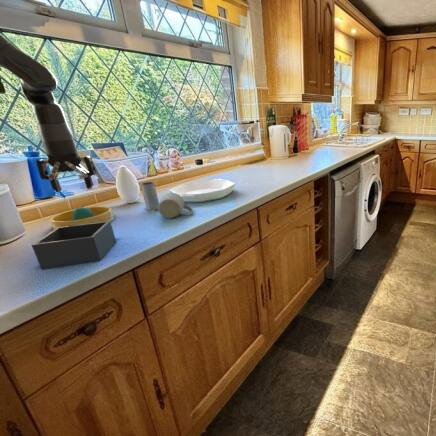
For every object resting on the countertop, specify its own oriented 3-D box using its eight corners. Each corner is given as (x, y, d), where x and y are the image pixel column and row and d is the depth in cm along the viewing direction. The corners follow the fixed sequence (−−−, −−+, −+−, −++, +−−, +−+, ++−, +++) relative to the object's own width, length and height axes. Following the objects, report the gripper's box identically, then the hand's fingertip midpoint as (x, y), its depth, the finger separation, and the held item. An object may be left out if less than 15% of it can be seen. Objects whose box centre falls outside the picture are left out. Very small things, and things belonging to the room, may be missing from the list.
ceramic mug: (159, 220, 104) (154, 199, 101) (163, 213, 111) (159, 193, 108) (192, 217, 107) (188, 196, 104) (194, 210, 114) (191, 190, 111)
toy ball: (71, 227, 99) (66, 211, 97) (79, 221, 104) (73, 206, 102) (91, 224, 101) (86, 208, 99) (97, 219, 106) (93, 204, 104)
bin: (41, 269, 73) (31, 245, 71) (65, 249, 84) (57, 227, 82) (100, 260, 76) (93, 237, 74) (116, 241, 87) (110, 221, 85)
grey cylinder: (153, 211, 114) (146, 185, 111) (144, 210, 116) (137, 184, 112) (162, 207, 118) (156, 182, 115) (154, 207, 120) (148, 181, 116)
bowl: (44, 237, 93) (39, 224, 92) (68, 220, 108) (64, 209, 106) (104, 229, 98) (101, 217, 96) (120, 214, 112) (117, 204, 111)
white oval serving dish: (214, 206, 118) (212, 195, 116) (155, 206, 121) (152, 195, 120) (245, 187, 146) (244, 178, 145) (197, 187, 150) (195, 178, 149)
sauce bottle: (132, 199, 132) (121, 158, 126) (147, 200, 130) (136, 158, 124) (116, 204, 125) (104, 161, 119) (131, 205, 123) (119, 161, 117)
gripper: (21, 141, 88) (42, 195, 93) (79, 138, 92) (95, 190, 97) (36, 139, 94) (54, 189, 100) (89, 136, 98) (103, 185, 104)
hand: (74, 189), depth 98 cm, fingers open, 8 cm apart
